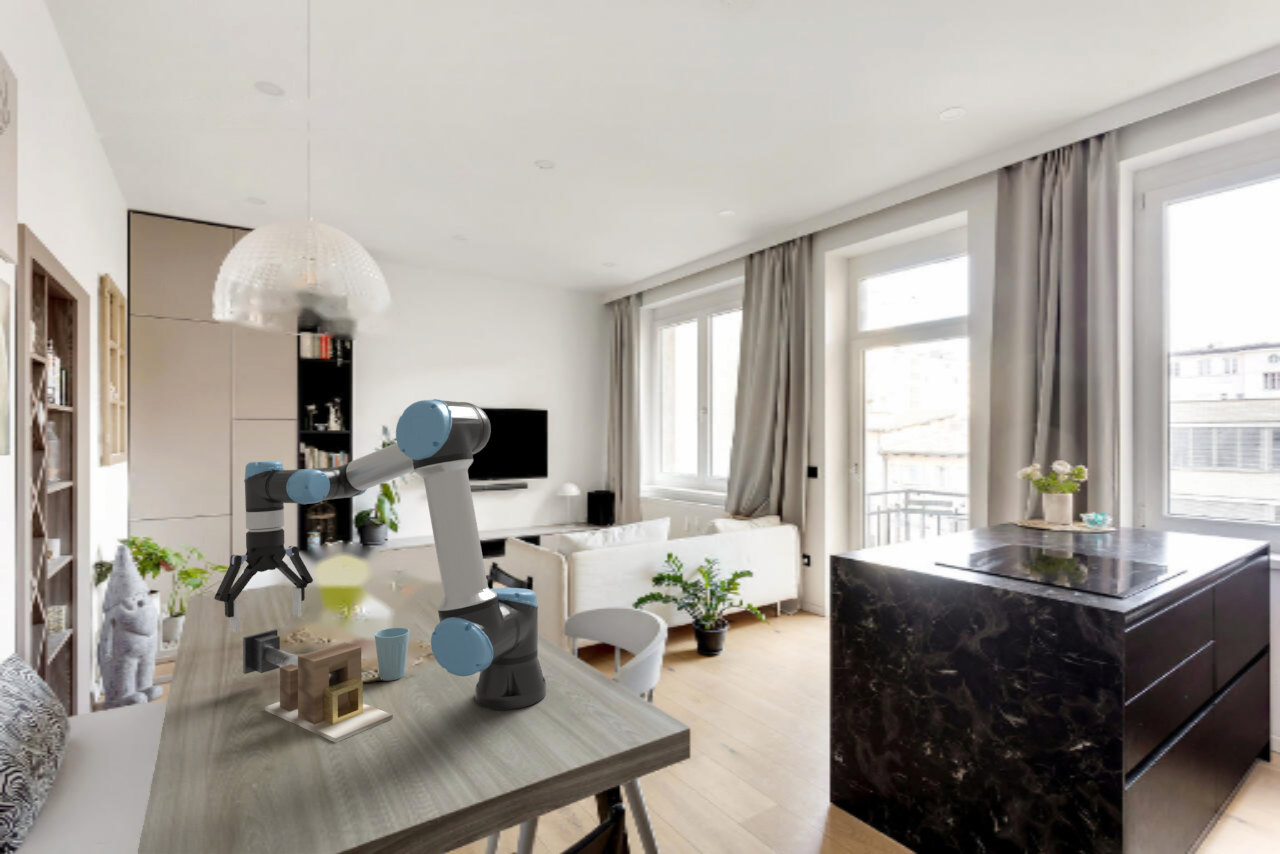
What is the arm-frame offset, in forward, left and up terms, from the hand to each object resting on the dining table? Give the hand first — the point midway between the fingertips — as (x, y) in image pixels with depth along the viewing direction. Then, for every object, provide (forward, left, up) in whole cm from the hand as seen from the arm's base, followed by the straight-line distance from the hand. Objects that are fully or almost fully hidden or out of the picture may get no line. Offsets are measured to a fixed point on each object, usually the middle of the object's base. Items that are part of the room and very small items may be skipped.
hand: (266, 623), depth 145 cm
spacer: (-30, 0, -11) cm, 32 cm away
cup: (-18, -20, -15) cm, 30 cm away
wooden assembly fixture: (-26, 0, -15) cm, 30 cm away
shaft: (-11, 0, -11) cm, 16 cm away
